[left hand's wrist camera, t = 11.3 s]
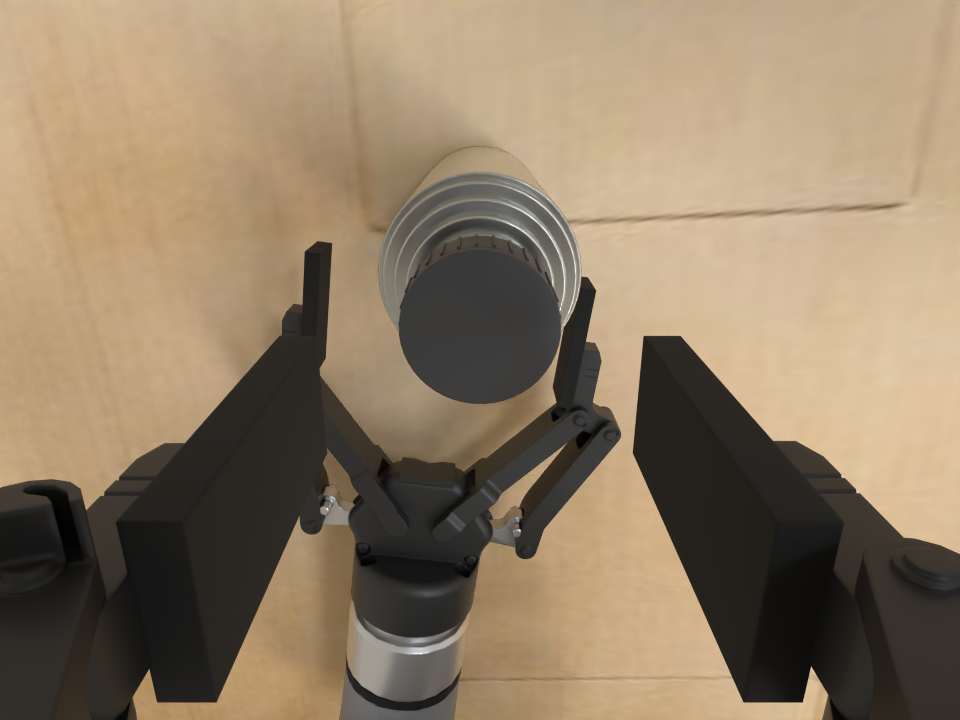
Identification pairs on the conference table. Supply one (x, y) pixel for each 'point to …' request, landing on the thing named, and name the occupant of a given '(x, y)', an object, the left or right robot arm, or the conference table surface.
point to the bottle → (479, 223)
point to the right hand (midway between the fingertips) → (453, 264)
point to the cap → (479, 320)
